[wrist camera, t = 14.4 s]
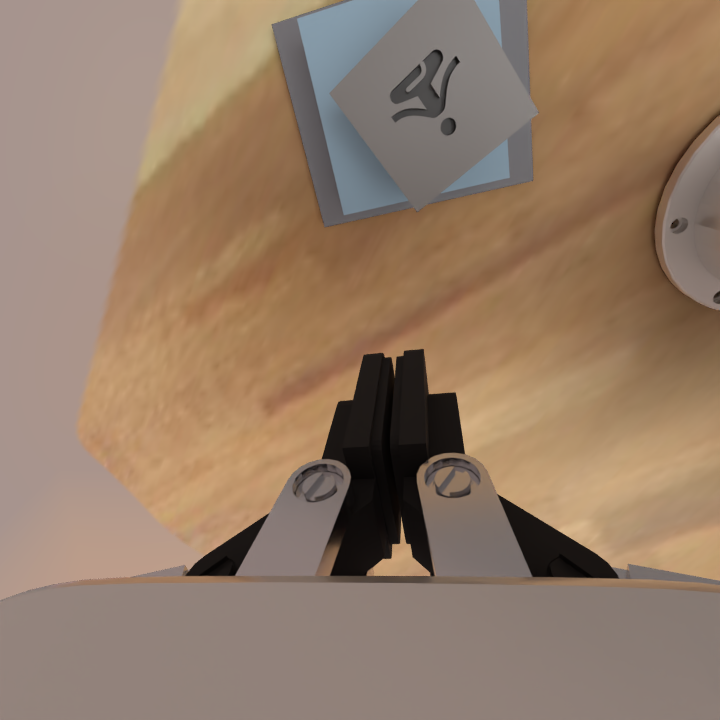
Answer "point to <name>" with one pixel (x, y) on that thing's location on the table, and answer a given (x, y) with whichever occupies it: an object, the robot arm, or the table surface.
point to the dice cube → (434, 97)
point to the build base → (317, 133)
